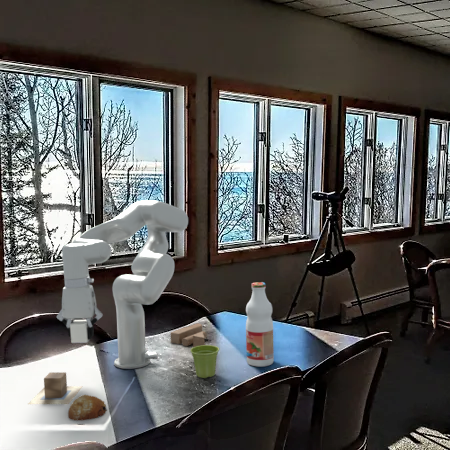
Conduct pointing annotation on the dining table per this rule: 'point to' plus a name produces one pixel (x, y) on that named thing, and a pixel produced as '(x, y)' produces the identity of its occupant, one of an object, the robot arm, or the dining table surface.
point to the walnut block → (55, 385)
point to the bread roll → (86, 408)
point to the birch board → (64, 400)
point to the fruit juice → (259, 328)
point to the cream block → (79, 331)
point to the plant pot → (205, 360)
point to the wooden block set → (189, 336)
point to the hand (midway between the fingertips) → (81, 337)
